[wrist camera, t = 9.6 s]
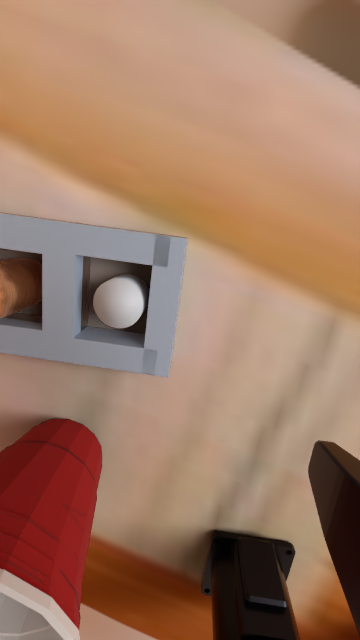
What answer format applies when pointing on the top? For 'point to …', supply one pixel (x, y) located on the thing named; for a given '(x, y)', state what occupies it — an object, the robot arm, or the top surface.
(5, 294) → the pin
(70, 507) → the plastic cup
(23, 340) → the frame
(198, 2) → the top surface
